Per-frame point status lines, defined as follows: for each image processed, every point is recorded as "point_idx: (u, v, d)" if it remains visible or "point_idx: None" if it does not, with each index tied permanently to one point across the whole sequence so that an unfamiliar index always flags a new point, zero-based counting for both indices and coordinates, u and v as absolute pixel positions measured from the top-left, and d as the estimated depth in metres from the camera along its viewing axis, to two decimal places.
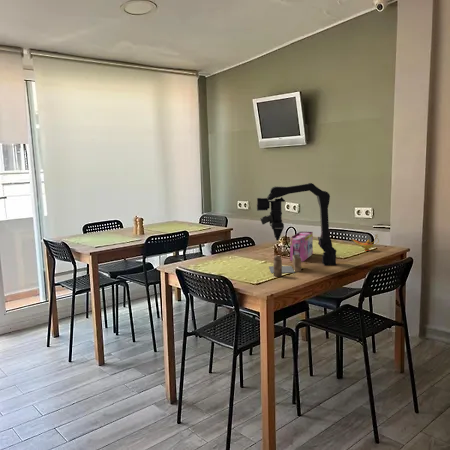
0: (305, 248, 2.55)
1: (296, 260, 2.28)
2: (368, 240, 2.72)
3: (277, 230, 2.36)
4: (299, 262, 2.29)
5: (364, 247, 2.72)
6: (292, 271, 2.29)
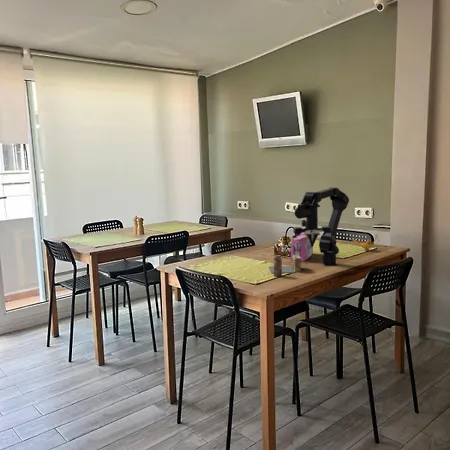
0: (306, 248, 2.55)
1: (296, 260, 2.28)
2: (368, 240, 2.72)
3: None
4: (299, 262, 2.29)
5: (364, 247, 2.72)
6: (292, 271, 2.29)
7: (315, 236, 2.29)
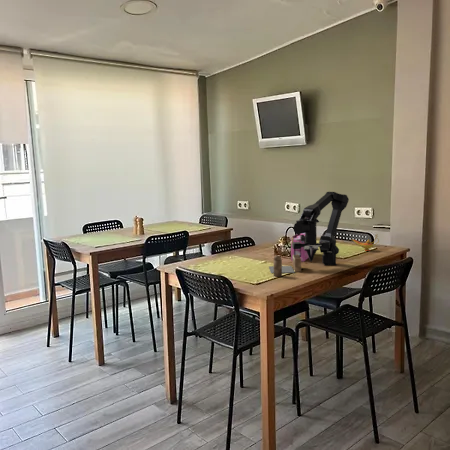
0: None
1: (296, 260, 2.28)
2: (368, 240, 2.72)
3: None
4: (299, 262, 2.29)
5: (364, 247, 2.72)
6: (292, 271, 2.29)
7: (314, 251, 2.30)
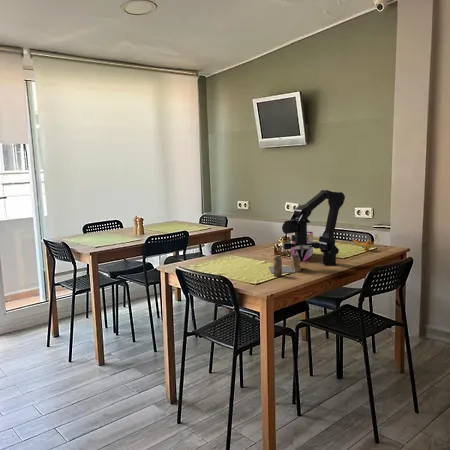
0: None
1: (294, 260, 2.28)
2: (368, 240, 2.72)
3: None
4: (298, 261, 2.29)
5: (364, 247, 2.72)
6: (292, 271, 2.29)
7: (304, 251, 2.30)
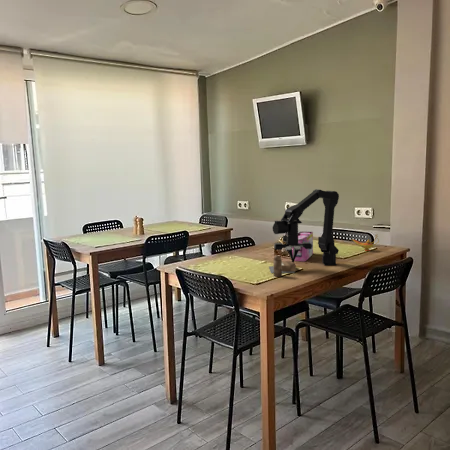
0: None
1: (283, 270, 2.29)
2: (368, 240, 2.72)
3: None
4: (285, 267, 2.29)
5: (364, 247, 2.72)
6: (292, 271, 2.29)
7: (296, 252, 2.30)
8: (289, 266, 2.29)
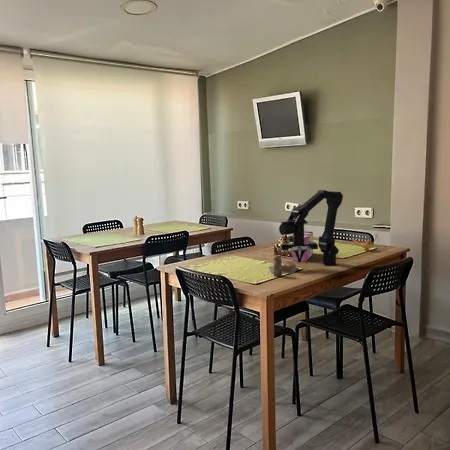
0: (307, 248, 2.55)
1: (283, 270, 2.29)
2: (368, 240, 2.72)
3: None
4: (285, 267, 2.29)
5: (364, 247, 2.72)
6: (292, 271, 2.29)
7: (302, 252, 2.30)
8: (289, 266, 2.29)
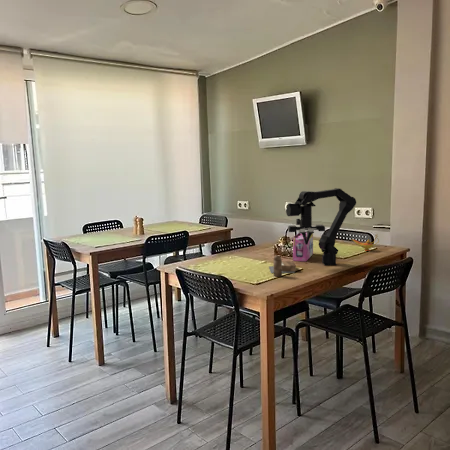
0: (307, 248, 2.55)
1: (283, 270, 2.29)
2: (368, 240, 2.72)
3: None
4: (285, 267, 2.29)
5: (364, 247, 2.72)
6: (292, 271, 2.29)
7: (309, 234, 2.35)
8: (289, 266, 2.29)
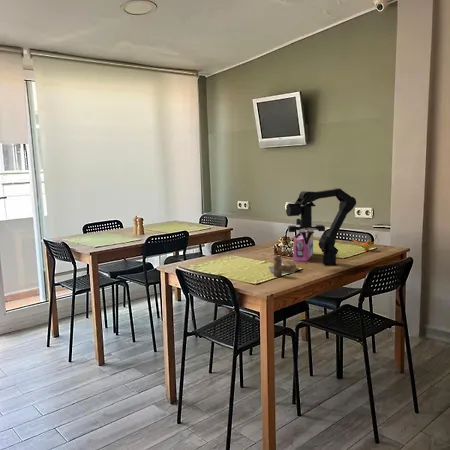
0: (308, 248, 2.55)
1: (283, 270, 2.29)
2: (368, 240, 2.72)
3: None
4: (285, 267, 2.29)
5: (364, 247, 2.72)
6: (292, 271, 2.29)
7: (309, 234, 2.35)
8: (289, 266, 2.29)
